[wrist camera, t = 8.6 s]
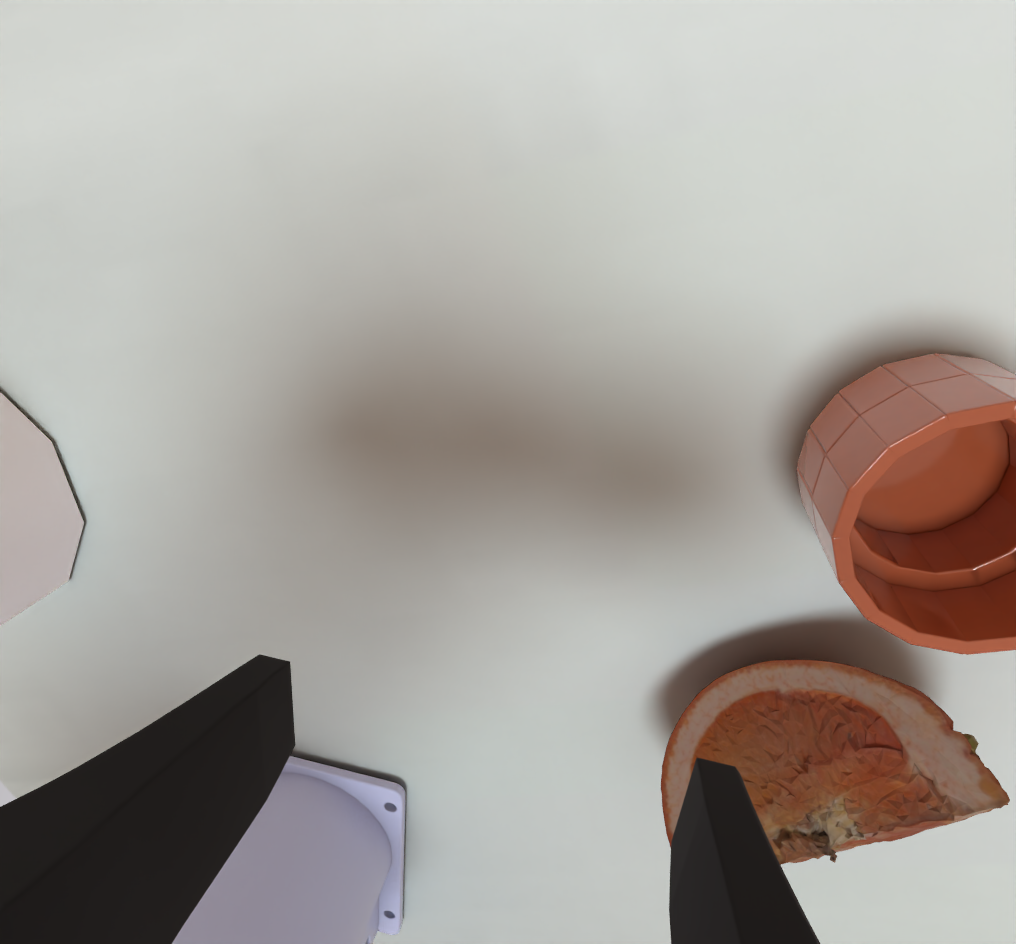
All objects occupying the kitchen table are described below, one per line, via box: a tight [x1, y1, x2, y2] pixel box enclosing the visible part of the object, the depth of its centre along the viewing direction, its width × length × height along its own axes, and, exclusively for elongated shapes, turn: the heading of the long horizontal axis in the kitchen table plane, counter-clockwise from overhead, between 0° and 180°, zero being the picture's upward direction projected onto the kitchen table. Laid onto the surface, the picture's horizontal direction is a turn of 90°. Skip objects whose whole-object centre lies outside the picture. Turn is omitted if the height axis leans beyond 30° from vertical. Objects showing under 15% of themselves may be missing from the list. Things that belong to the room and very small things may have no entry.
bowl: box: [797, 353, 1016, 654], centre depth 15 cm, size 6×6×4 cm
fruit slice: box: [661, 660, 1010, 865], centre depth 18 cm, size 8×7×5 cm
